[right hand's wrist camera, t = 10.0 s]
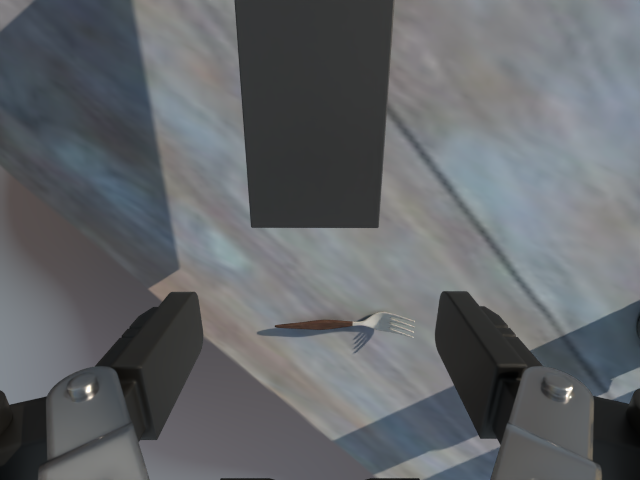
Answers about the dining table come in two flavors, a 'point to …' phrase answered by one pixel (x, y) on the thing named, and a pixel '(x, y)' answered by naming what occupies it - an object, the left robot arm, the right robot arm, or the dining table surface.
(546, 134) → the dining table surface
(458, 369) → the right robot arm
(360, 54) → the box
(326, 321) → the fork
